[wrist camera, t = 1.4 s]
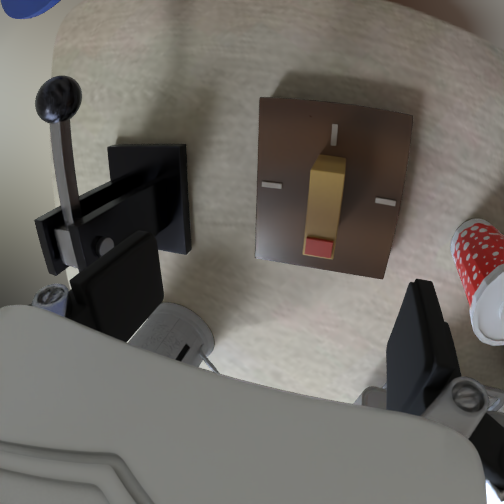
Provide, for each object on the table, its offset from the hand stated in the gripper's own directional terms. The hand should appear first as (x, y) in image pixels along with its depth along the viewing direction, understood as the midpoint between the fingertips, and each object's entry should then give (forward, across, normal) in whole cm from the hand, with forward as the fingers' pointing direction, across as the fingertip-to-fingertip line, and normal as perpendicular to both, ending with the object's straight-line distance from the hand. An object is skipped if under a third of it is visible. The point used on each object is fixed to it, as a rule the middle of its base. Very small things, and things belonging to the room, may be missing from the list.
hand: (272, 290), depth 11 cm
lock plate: (+15, -1, 0) cm, 15 cm away
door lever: (+6, +15, -2) cm, 16 cm away
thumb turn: (+12, -1, 0) cm, 12 cm away
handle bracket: (+15, +15, +3) cm, 21 cm away
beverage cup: (+15, -14, +3) cm, 21 cm away
